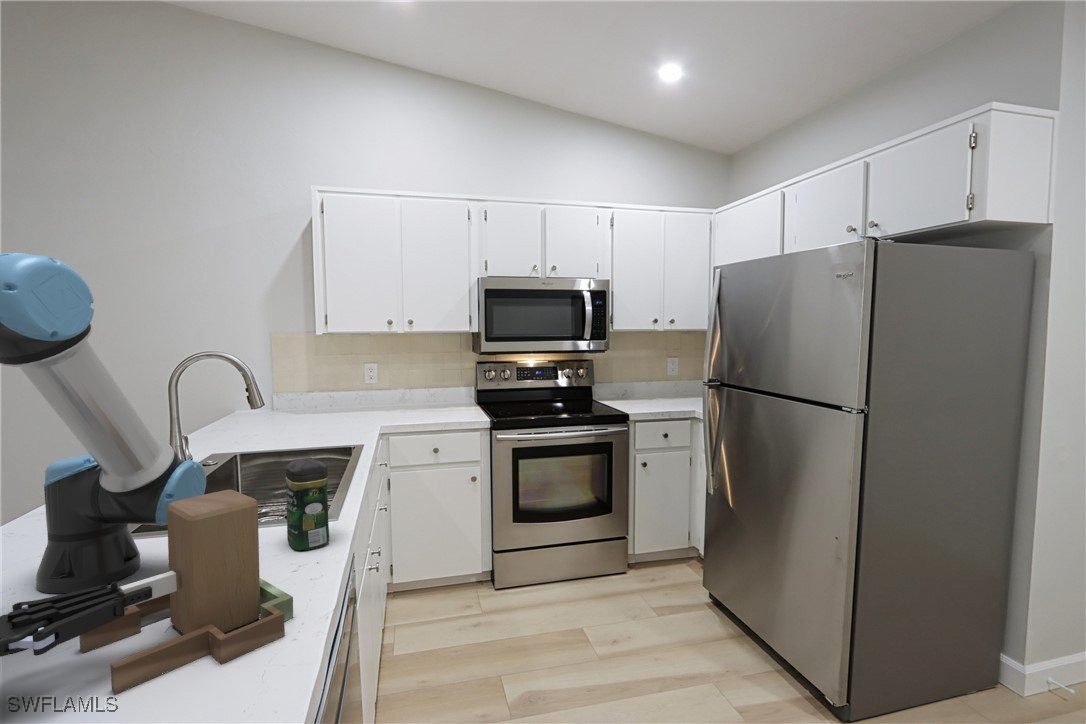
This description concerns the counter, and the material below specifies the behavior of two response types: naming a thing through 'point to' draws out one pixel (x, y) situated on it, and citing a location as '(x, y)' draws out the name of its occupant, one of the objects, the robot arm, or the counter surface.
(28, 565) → the counter surface
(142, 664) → the trap lane
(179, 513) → the block
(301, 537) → the coffee jar
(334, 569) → the counter surface
